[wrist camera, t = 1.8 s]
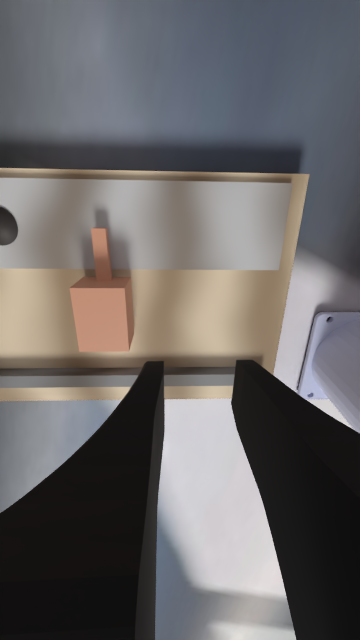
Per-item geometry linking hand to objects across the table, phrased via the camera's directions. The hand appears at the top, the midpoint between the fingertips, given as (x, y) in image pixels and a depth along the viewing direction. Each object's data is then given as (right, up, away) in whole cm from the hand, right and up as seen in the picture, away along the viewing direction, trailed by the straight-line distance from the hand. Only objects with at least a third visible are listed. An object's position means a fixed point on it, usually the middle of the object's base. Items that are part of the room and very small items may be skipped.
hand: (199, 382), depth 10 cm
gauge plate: (-7, +4, +9) cm, 13 cm away
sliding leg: (-5, +5, +7) cm, 10 cm away
